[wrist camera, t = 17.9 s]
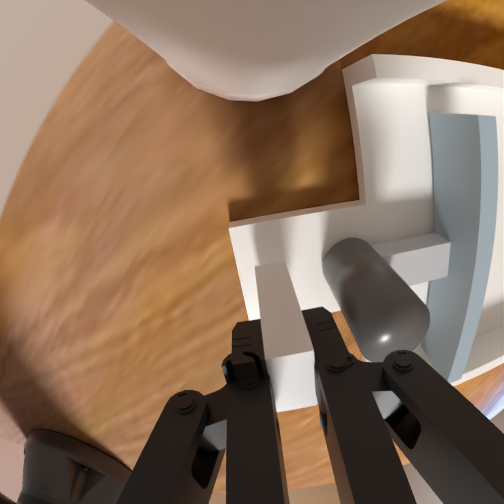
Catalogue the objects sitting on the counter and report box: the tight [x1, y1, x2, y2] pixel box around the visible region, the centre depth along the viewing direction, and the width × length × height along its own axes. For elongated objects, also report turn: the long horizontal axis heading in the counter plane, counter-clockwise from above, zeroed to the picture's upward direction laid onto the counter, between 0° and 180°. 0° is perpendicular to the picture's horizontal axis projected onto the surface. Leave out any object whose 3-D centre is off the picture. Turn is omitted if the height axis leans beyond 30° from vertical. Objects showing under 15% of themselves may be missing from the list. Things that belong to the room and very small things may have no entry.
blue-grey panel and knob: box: [322, 113, 498, 383], centre depth 13 cm, size 8×15×6 cm, turn 10°
